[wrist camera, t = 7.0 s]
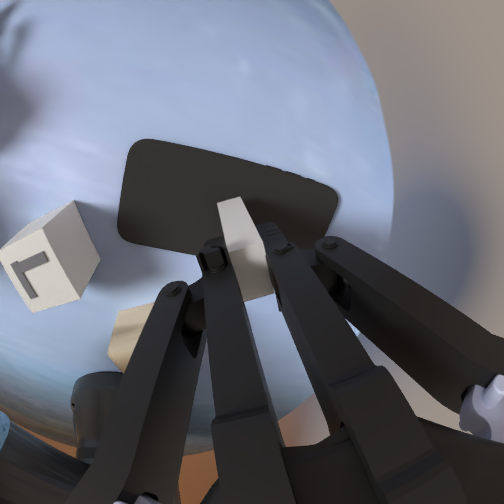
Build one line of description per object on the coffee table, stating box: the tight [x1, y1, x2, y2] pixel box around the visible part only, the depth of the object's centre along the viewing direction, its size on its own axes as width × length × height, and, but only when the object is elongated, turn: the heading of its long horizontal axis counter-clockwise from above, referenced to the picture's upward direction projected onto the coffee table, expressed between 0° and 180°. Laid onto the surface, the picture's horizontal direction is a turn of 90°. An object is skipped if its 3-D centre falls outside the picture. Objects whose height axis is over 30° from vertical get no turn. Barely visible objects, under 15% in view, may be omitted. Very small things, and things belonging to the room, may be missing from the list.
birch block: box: [107, 302, 155, 374], centre depth 20 cm, size 5×5×5 cm
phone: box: [117, 139, 338, 255], centre depth 19 cm, size 7×1×15 cm
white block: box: [0, 200, 101, 313], centre depth 15 cm, size 5×5×5 cm
